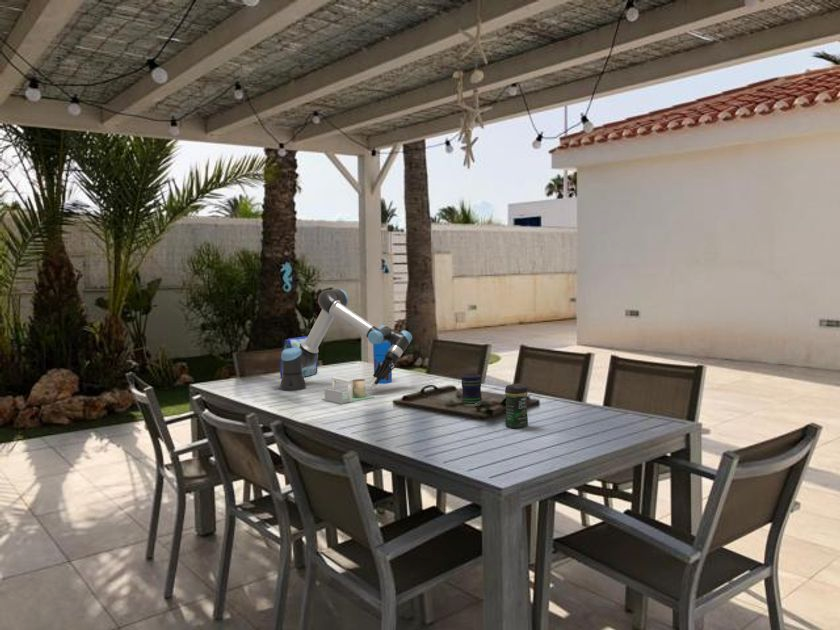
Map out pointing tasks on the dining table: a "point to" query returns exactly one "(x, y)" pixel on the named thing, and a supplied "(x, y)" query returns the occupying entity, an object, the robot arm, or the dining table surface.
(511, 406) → the coffee jar
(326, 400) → the pitch
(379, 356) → the thermos
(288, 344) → the lunch bag
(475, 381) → the storage jar
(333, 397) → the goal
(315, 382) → the dining table surface
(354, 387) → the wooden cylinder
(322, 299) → the robot arm
